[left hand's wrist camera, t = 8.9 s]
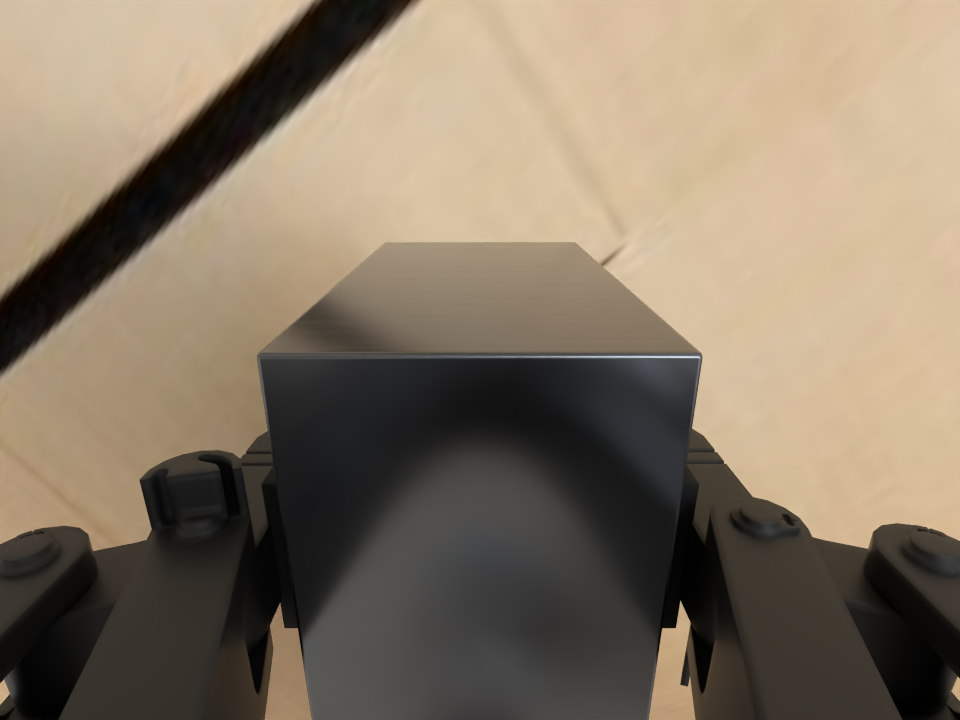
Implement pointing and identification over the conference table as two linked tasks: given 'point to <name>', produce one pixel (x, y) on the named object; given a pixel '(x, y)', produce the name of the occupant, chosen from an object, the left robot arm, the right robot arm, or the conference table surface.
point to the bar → (479, 484)
